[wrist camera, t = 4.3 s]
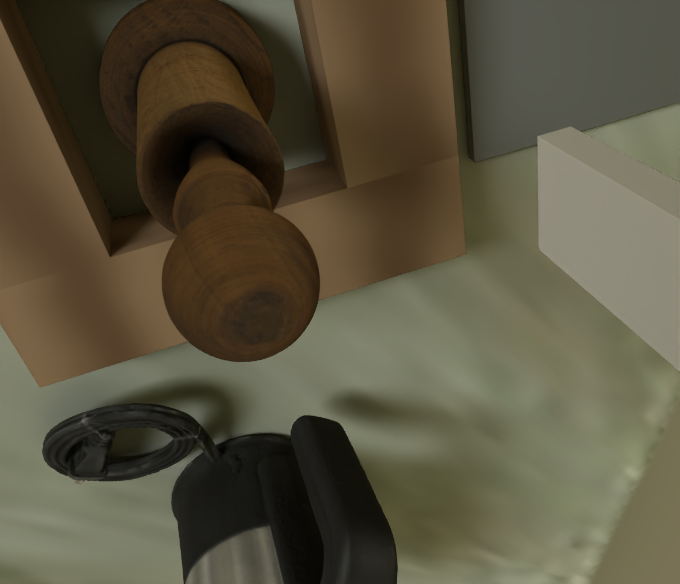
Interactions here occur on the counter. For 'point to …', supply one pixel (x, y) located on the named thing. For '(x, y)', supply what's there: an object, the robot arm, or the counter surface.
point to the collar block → (294, 204)
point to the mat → (563, 66)
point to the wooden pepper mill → (211, 174)
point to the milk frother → (247, 497)
